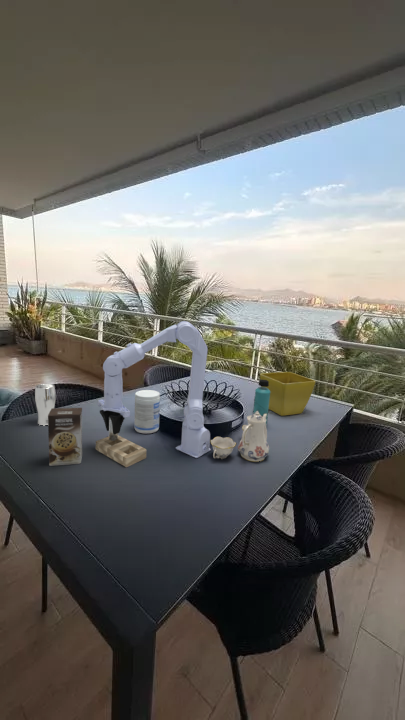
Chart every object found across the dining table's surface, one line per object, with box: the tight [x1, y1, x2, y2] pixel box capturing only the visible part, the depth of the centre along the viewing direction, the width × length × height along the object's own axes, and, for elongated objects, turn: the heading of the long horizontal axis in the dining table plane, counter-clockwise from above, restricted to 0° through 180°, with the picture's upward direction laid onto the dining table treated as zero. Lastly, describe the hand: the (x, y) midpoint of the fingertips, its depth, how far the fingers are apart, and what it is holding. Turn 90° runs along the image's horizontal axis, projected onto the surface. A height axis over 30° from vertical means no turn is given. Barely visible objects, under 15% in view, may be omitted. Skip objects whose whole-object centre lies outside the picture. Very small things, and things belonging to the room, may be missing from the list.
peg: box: [108, 417, 119, 441], centre depth 106 cm, size 3×3×8 cm
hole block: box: [95, 434, 147, 468], centre depth 105 cm, size 16×8×3 cm, turn 52°
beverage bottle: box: [252, 379, 270, 425], centre depth 133 cm, size 6×7×20 cm
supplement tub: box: [133, 389, 161, 435], centre depth 124 cm, size 10×10×15 cm
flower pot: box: [259, 371, 316, 417], centre depth 154 cm, size 19×19×17 cm
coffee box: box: [47, 407, 83, 467], centre depth 98 cm, size 9×6×16 cm
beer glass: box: [34, 383, 56, 427], centre depth 124 cm, size 7×7×15 cm
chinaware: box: [210, 411, 270, 463], centre depth 111 cm, size 28×17×17 cm, turn 142°
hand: (113, 431), depth 106 cm, fingers closed on peg, 3 cm apart
